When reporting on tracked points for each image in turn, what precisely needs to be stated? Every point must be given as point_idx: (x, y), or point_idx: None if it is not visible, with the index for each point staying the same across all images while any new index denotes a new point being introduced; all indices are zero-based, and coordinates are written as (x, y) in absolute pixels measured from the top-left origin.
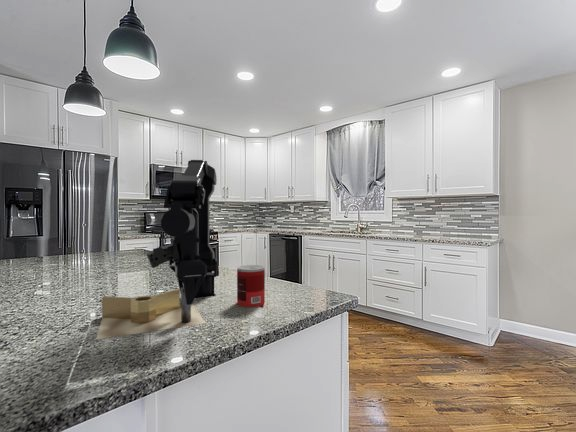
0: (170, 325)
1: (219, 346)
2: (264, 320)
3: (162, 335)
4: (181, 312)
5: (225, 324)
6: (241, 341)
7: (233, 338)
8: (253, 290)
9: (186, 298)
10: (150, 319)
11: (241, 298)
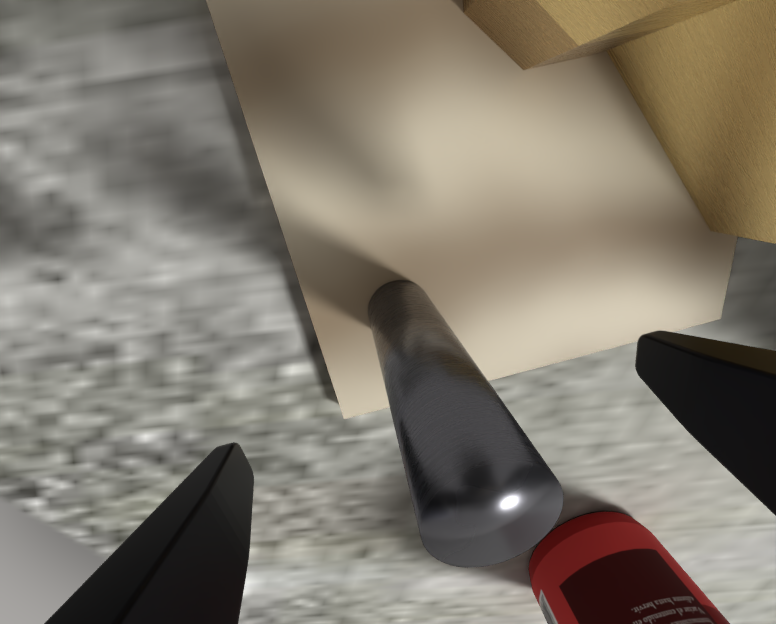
0: (341, 214)
1: (44, 487)
2: (369, 604)
3: (221, 169)
4: (398, 310)
5: (354, 484)
6: None
7: None
8: None
9: (158, 512)
10: (483, 19)
11: (587, 582)
